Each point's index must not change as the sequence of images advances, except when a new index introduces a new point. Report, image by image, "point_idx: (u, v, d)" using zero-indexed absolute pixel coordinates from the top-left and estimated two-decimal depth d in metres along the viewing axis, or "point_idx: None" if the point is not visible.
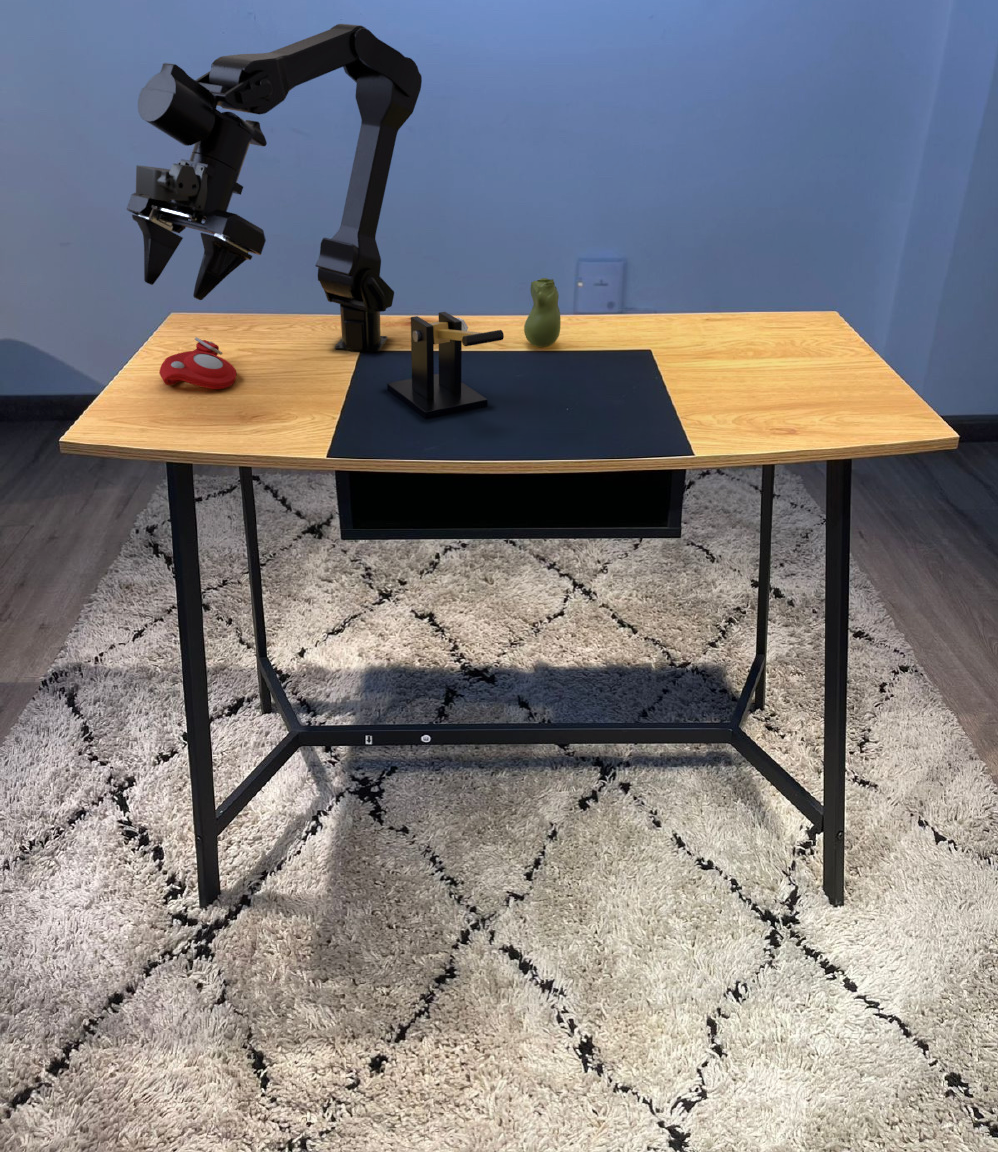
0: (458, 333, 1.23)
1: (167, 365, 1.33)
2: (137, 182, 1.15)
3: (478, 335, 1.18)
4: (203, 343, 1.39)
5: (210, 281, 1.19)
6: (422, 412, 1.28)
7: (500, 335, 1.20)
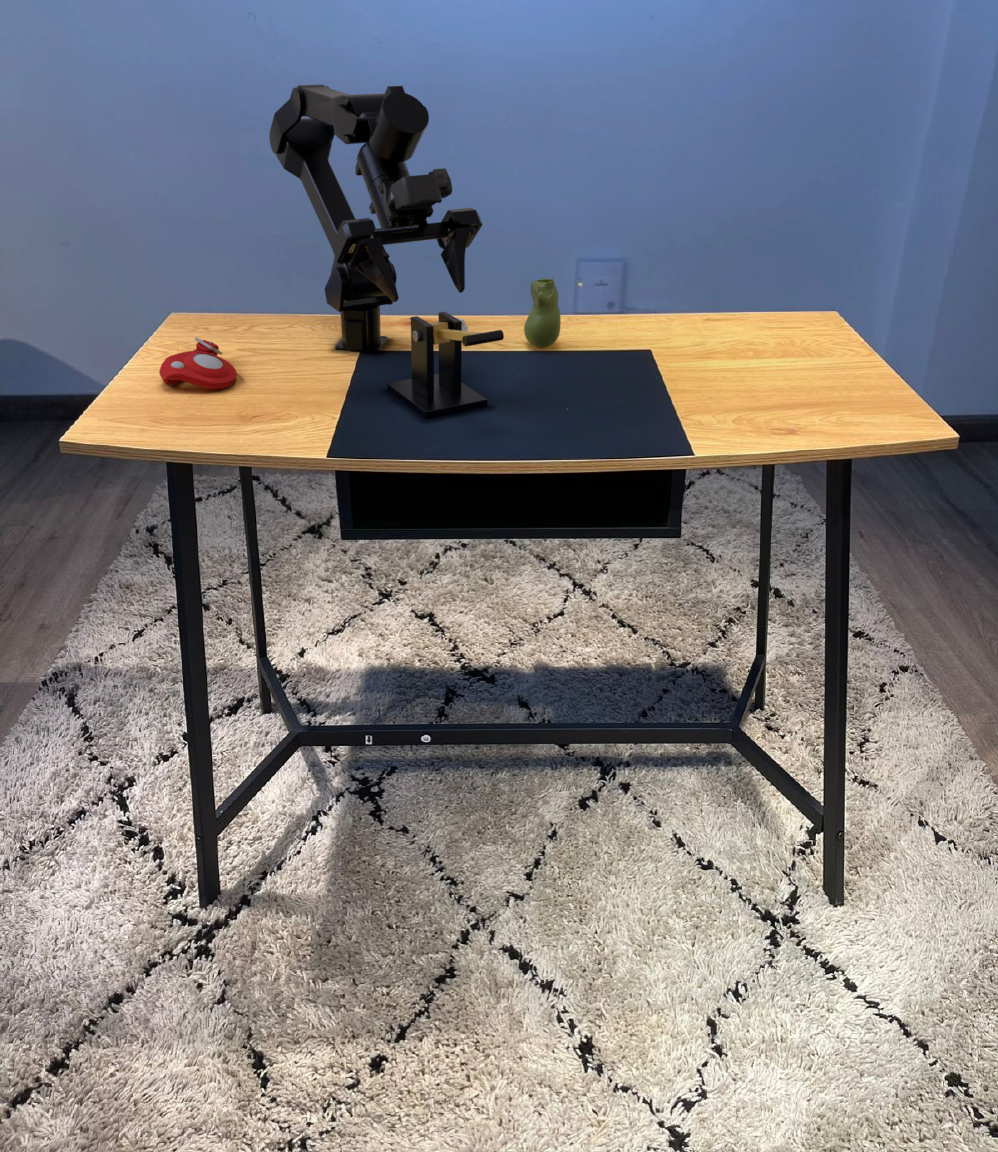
0: (458, 333, 1.23)
1: (167, 365, 1.33)
2: (413, 191, 1.21)
3: (478, 335, 1.18)
4: (203, 343, 1.39)
5: None
6: (422, 412, 1.28)
7: (500, 335, 1.20)
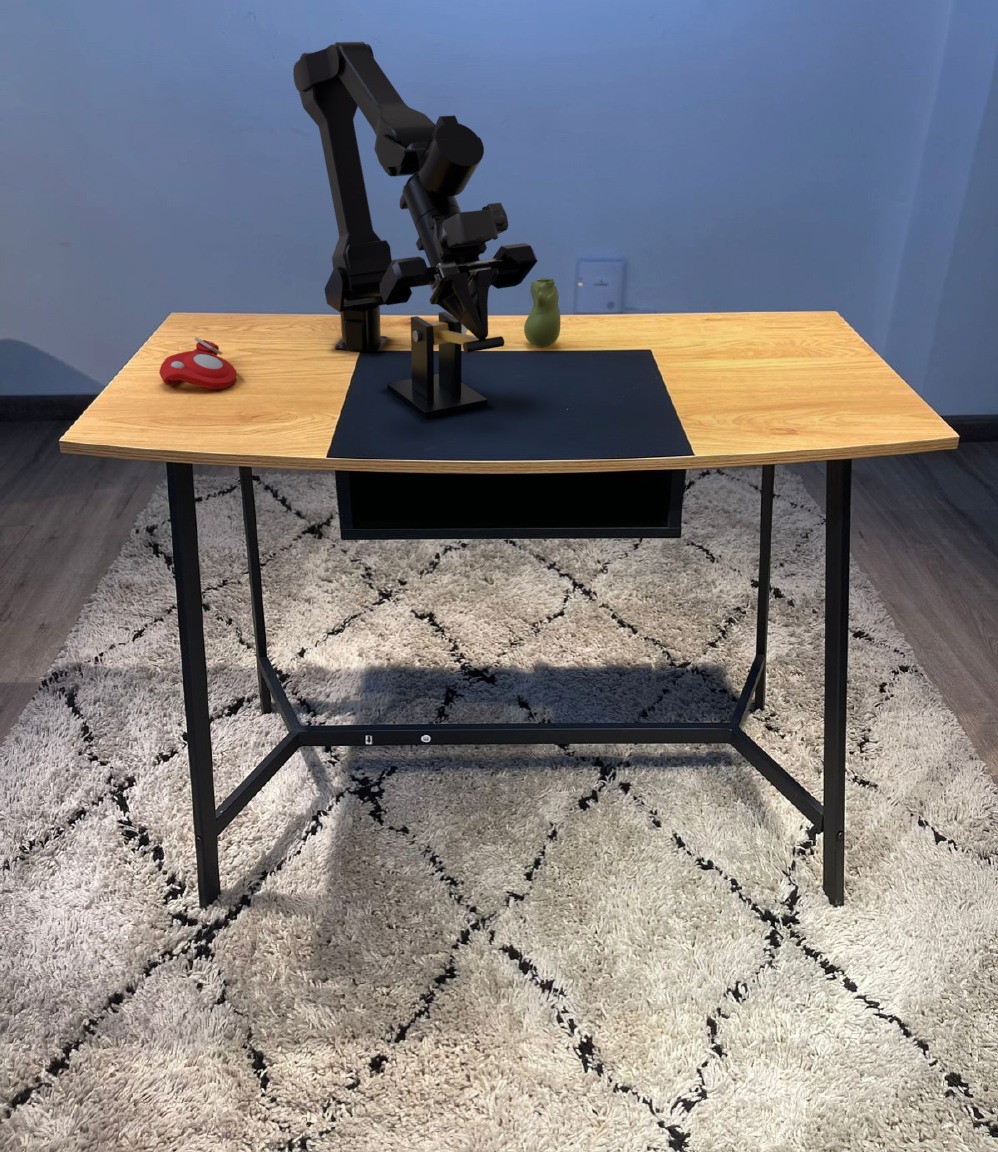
0: (458, 337, 1.23)
1: (167, 365, 1.33)
2: (469, 228, 1.13)
3: (479, 342, 1.19)
4: (203, 343, 1.39)
5: None
6: (422, 412, 1.28)
7: (501, 342, 1.20)
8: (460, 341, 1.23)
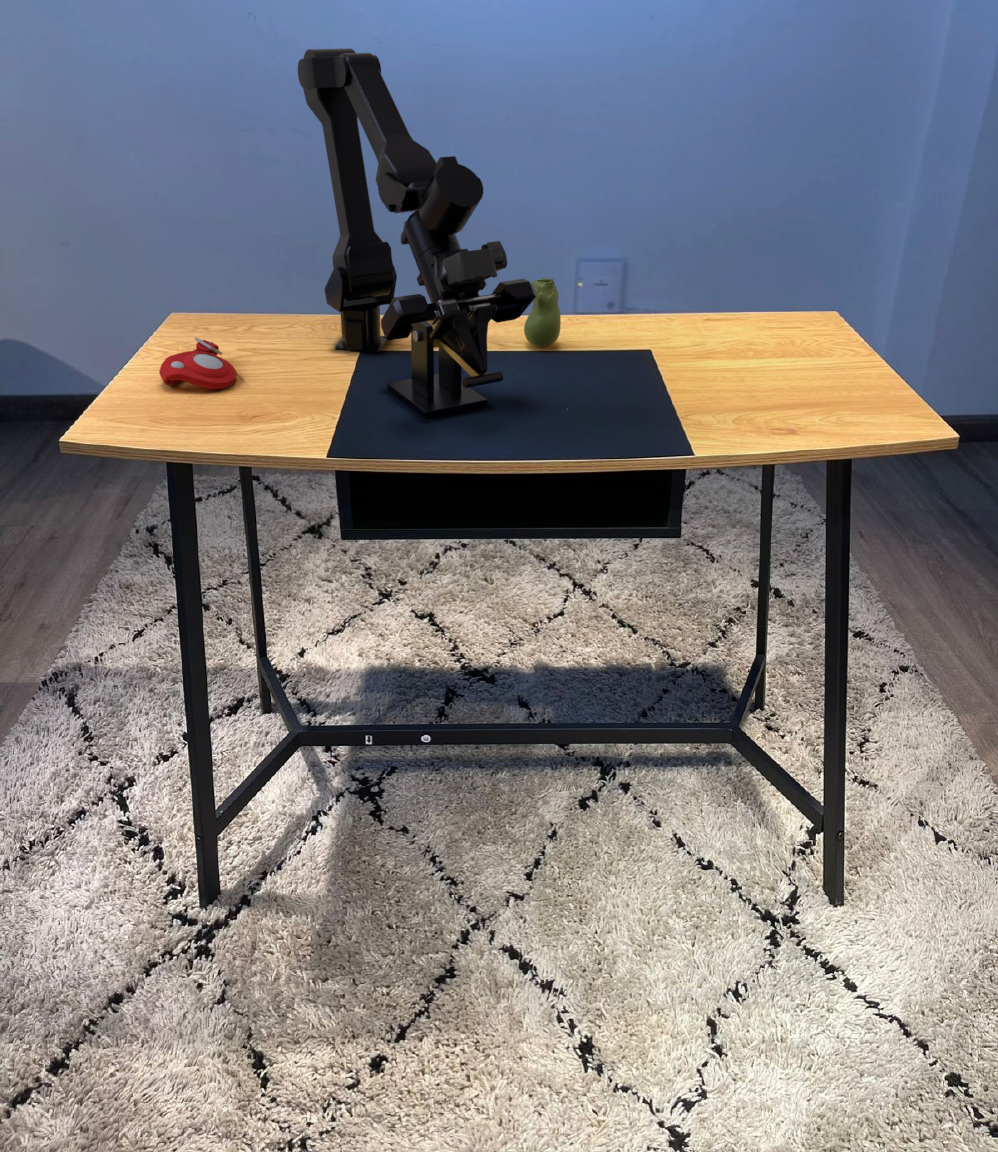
0: (459, 357, 1.24)
1: (167, 365, 1.33)
2: (469, 267, 1.15)
3: (479, 379, 1.21)
4: (203, 343, 1.39)
5: None
6: (422, 412, 1.28)
7: (500, 379, 1.22)
8: (460, 362, 1.24)
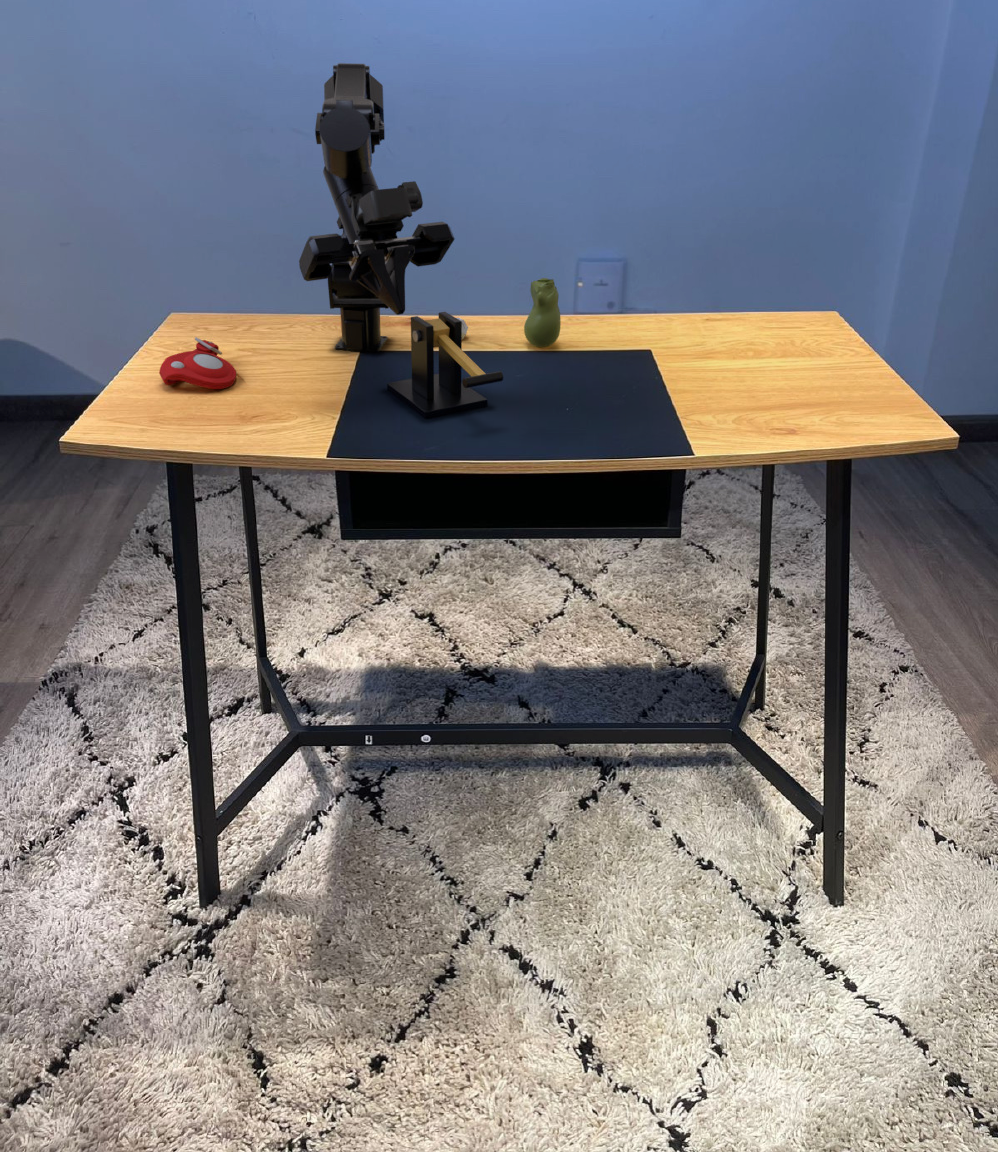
0: (459, 357, 1.24)
1: (167, 365, 1.33)
2: (382, 205, 1.16)
3: (479, 379, 1.21)
4: (203, 343, 1.39)
5: None
6: (422, 412, 1.28)
7: (500, 379, 1.22)
8: (460, 362, 1.24)
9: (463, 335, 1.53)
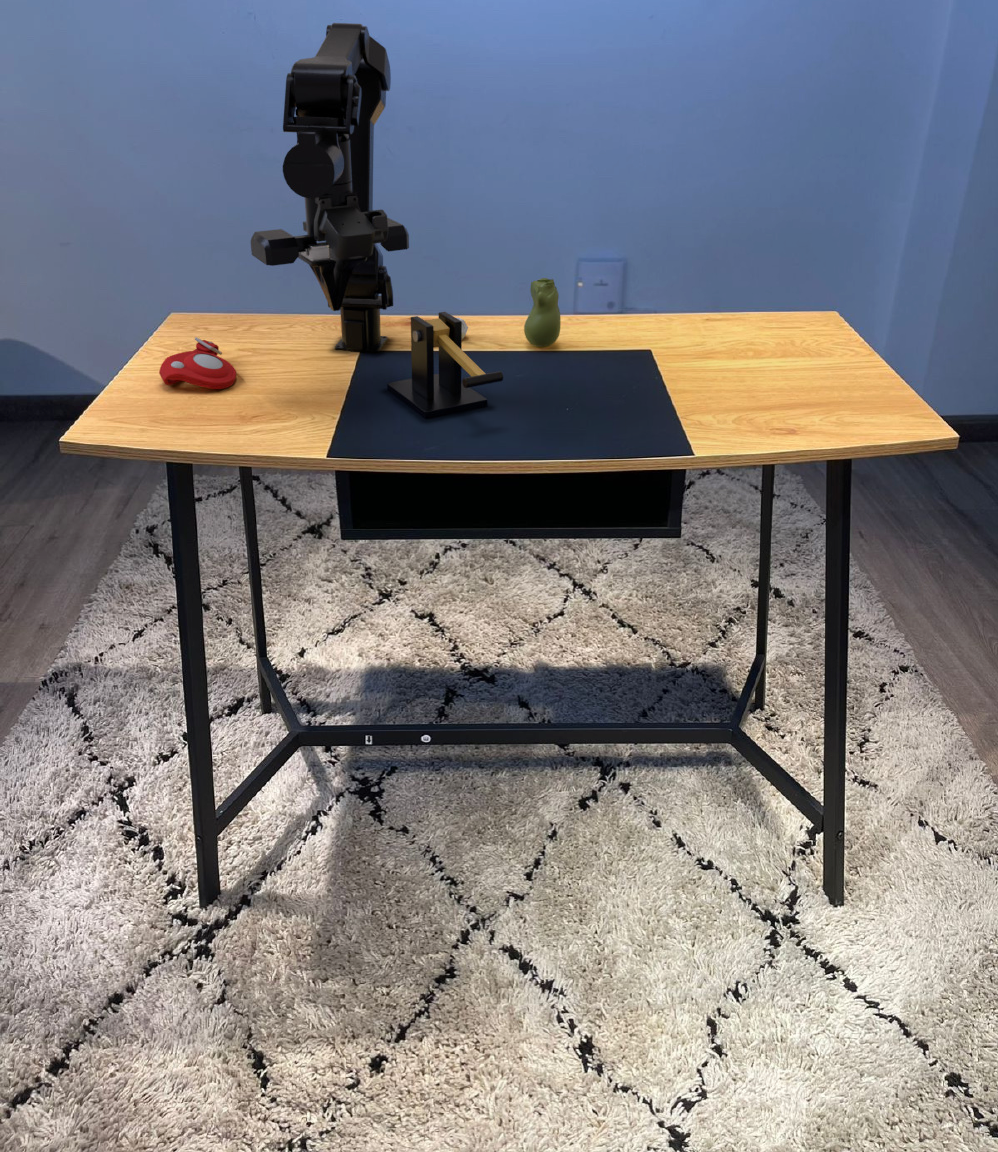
0: (459, 357, 1.24)
1: (167, 365, 1.33)
2: (346, 249, 1.18)
3: (479, 379, 1.21)
4: (203, 343, 1.39)
5: None
6: (422, 412, 1.28)
7: (500, 379, 1.22)
8: (460, 362, 1.24)
9: (463, 335, 1.53)
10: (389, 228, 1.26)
